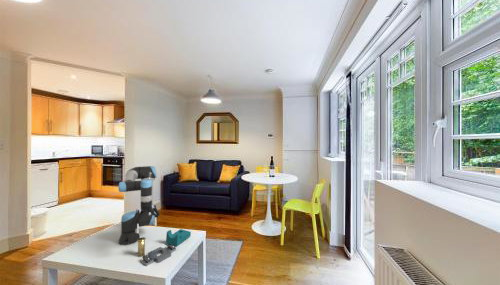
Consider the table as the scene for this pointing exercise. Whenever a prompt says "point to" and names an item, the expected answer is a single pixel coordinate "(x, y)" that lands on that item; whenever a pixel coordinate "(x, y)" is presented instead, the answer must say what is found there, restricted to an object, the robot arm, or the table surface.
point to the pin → (141, 247)
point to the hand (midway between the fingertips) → (146, 229)
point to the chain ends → (153, 255)
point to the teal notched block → (177, 237)
